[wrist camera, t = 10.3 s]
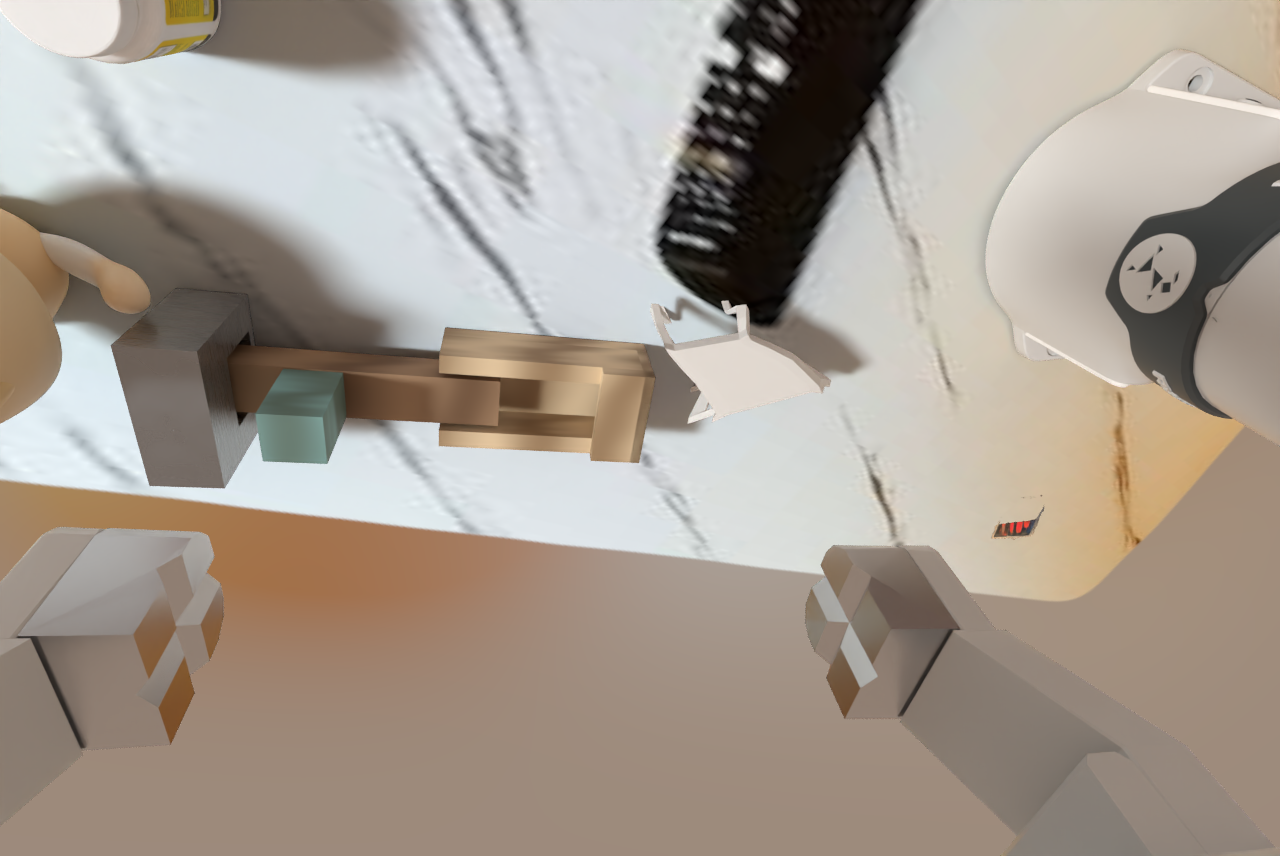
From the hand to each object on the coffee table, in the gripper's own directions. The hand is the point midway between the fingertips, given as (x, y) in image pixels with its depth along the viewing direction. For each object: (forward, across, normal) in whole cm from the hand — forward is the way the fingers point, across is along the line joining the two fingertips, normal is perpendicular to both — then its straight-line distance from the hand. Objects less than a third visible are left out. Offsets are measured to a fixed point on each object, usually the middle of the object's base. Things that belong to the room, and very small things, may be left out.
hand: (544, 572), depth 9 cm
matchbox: (+32, -42, +24) cm, 58 cm away
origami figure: (+32, -14, +11) cm, 36 cm away
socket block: (+31, +16, +14) cm, 38 cm away
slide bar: (+30, +9, +14) cm, 34 cm away
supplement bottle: (+31, +16, -4) cm, 35 cm away
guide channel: (+31, -2, +14) cm, 34 cm away
